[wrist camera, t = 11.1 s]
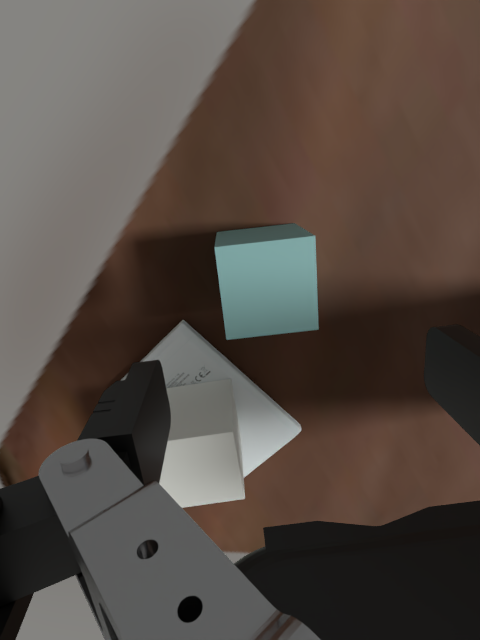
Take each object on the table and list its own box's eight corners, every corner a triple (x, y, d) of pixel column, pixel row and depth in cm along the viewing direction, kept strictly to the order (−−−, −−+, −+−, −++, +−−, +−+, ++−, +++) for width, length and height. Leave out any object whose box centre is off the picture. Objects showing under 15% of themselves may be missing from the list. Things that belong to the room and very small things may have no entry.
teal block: (294, 223, 24) (315, 235, 19) (298, 297, 26) (318, 329, 20) (216, 231, 24) (214, 247, 19) (226, 305, 26) (226, 339, 20)
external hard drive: (226, 477, 32) (110, 387, 29) (298, 418, 30) (184, 315, 27) (226, 492, 31) (103, 399, 27) (302, 431, 29) (181, 323, 25)
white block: (231, 378, 27) (233, 431, 21) (240, 435, 29) (245, 498, 23) (161, 388, 27) (145, 444, 21) (175, 445, 29) (164, 510, 23)
